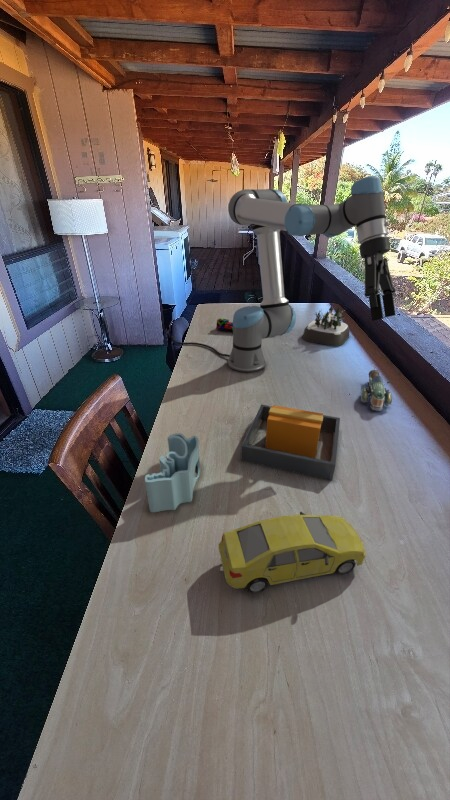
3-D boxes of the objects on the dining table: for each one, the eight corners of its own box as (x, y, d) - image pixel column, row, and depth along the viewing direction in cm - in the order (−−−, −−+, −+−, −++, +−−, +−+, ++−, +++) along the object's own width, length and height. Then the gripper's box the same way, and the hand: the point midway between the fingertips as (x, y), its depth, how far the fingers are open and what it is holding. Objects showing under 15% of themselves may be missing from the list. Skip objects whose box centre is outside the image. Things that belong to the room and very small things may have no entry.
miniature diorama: (351, 335, 176) (358, 301, 168) (339, 348, 162) (346, 311, 153) (313, 327, 186) (318, 295, 177) (299, 339, 171) (303, 304, 162)
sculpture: (273, 329, 171) (216, 320, 178) (272, 339, 173) (215, 329, 180) (276, 326, 179) (221, 317, 186) (275, 335, 181) (220, 326, 188)
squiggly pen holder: (190, 515, 79) (188, 484, 74) (148, 511, 80) (142, 481, 75) (202, 462, 94) (201, 434, 90) (166, 459, 95) (163, 432, 90)
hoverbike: (360, 410, 116) (365, 389, 112) (358, 377, 136) (362, 358, 132) (391, 415, 114) (397, 393, 109) (384, 380, 134) (390, 361, 130)
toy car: (372, 576, 66) (385, 542, 61) (229, 608, 61) (229, 574, 56) (341, 525, 76) (350, 493, 71) (216, 549, 71) (215, 516, 66)
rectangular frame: (241, 460, 95) (241, 445, 92) (260, 417, 113) (261, 404, 110) (332, 480, 88) (335, 465, 86) (337, 431, 106) (340, 417, 104)
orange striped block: (264, 447, 99) (266, 416, 94) (270, 433, 106) (272, 402, 100) (316, 458, 96) (321, 426, 90) (318, 442, 102) (324, 411, 96)
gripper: (374, 229, 84) (387, 318, 87) (398, 239, 103) (408, 312, 106) (344, 240, 88) (356, 324, 92) (372, 248, 107) (382, 317, 111)
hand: (384, 318), depth 99 cm, fingers open, 13 cm apart
